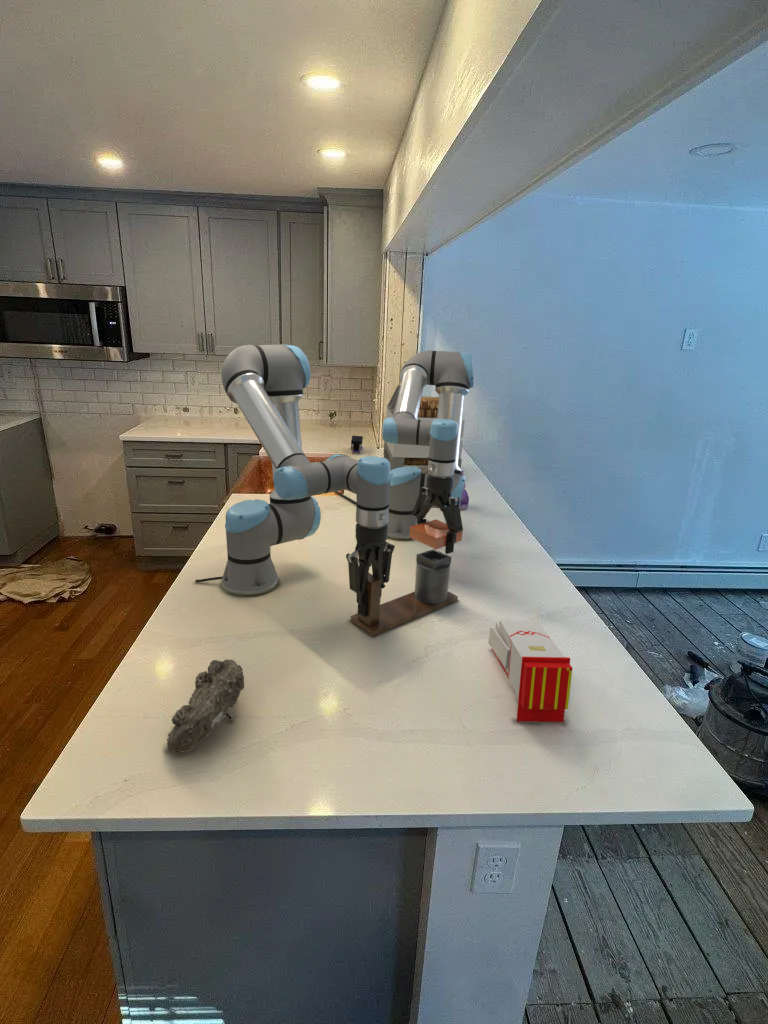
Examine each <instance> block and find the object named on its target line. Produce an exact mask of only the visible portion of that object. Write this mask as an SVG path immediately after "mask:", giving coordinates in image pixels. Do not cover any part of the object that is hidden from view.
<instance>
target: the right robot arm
mask: <svg viewBox="0 0 768 1024" xmlns="http://www.w3.org/2000/svg"><path fill="white" fill-rule="evenodd" d="M474 376H475V371H474V358H473V355H472V354H471V353H469V352H462V351H446V350H430V349H429V350H423V351H420V352H418V353H416V354H414V355H413V356H412V357H410V358H409V359H408V360H406V361H405V363H404V364H403V365H402V367H401V369H400V373H399V382H400V384H399V385H400V389H399V393H398V397H397V401H396V405H395V409H394V413H393V417H391V418H386V417H385V418H384V420H383V422H382V432H381V433H382V435H381V436H382V440H383V443H384V442H387V443H394V444H408V445H421V446H429V460H428V466H427V472H426V473H425V472H422V469H421V468H420V467H419V466H418V467H417V466H404V467H400V468H396V469H393V470H391V471H390V475H391V480H390V494H389V513H388V523H387V525H388V536H387V539H389V540H395V541H410V540H413V539H412V538H410V537H409V534H410V526H414V525H417V524H421V523H425V522H428V521H427V517H426V516H427V515H428V514H429V512H430V511H431V509H439V510H440V511H441V513H442V515H443V518H444V522H445V523H446V524H447V526H448V529H449V532H447V538H446V546H445V548H444V549H445V551H444V554H446V555H448V554H452V553H454V551H455V550H454V549H455V544H456V543H455V542H456V536H457V533H458V532H462V531H464V527H463V526H464V525H463V521H462V515H461V510H460V508H459V505H460V500H461V496H462V491H463V487H464V482H465V483H466V477H465V475H464V476H461V475H462V468H461V469H460V468H459V467H458V458H459V447H460V439H461V438H460V436H461V424H462V419H463V414H464V413H463V411H464V402H465V401H464V400H465V397H466V396H467V395H468V394H469V392H470V389H472V388H473V387H474V386H475V385H474V384H475V378H474ZM426 386H435V388H434V390H435V392H436V393H437V395H438V397H439V401H438V413H437V420H434V421H430V420H417V418H418V413H419V407H420V402H421V397H423V391H424V388H425V387H426ZM334 493H335V494H337V495H339V496H340V497H342V498H344V499H345V500H347V501H349V502H350V503H352V504H354V505H356V502H357V501H355V500H354V499H352V498H350V497H348V496H347V495H345V494H343V493H341V492H340V491H336V492H334Z"/></svg>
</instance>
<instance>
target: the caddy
mask: <svg viewBox="0 0 768 1024" xmlns="http://www.w3.org/2000/svg"><path fill="white" fill-rule="evenodd" d="M415 561H416V565H415V578H414V591H413V592H410V593H408V594H405V595H402V596H400V597H397V598H394V599H392V600H389V601H386V602H383V603H381V598H380V595H381V579H379V578H377V577H376V576H374V575H373V573H371V572H369V573H368V579H367V585H366V591H367V592H368V610H367V617H364V616H362V615H361V614H359V613H358V612H356V613H355V614H352V615H350V622H351V623H353V624H354V625H356V626H357V627H359V628H360V629H361V630H363V631H365V632H366V633H368V635H370V636H371V637H376V636H378V635H381V634H383V633H385V632H388V631H390V630H392V629H394V628H397V627H400V626H402V625H404V624H406V623H409V622H411V621H414V620H416V619H418V618H420V617H423V616H425V615H428V614H431V613H432V612H435V611H437V610H439V609H442V608H444V607H447V606H449V605H451V604H454V603H456V602H458V600H459V599H458V598H459V597H458V596H459V595H457V594H455V593H452V592H451V591H449V584H450V583H449V582H450V573H451V572H450V571H451V564H452V556H450V555H448V554H446V553H445V552H441V551H439V550H438V549H434V548H432V549H429V550H425V551H423V552H420V553H418V554H417V553H416V557H415ZM381 596H382V595H381Z"/></svg>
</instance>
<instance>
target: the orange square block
mask: <svg viewBox="0 0 768 1024" xmlns="http://www.w3.org/2000/svg"><path fill="white" fill-rule="evenodd" d="M463 531H464V530H463ZM463 531H462V532H458V533H457V536H456V542H455V543H454V544H457V543H461V542H462V540H463V533H464V532H463ZM447 532H449V529H448V526H447V524H446V522H445V521H444V522H443V521H441V520H438V519H432V520H429V521H427V522H425V523H421V524H417V525H414V526H410V534H409V537H410V538H412V539H411V540H414V541H416V542H419V543H421V544H423V545H425V546H427V547H429V548H432V549H435V550H438V549H442V548H444V547H445V548H446V538H447Z"/></svg>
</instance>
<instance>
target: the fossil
mask: <svg viewBox="0 0 768 1024" xmlns="http://www.w3.org/2000/svg"><path fill="white" fill-rule="evenodd" d="M243 670H244V669H243V667H242V665H240V664H237V662H236V661H235V660H234V659H232V658H231V659H227V658H226V659H224V660H223V661H222V660H217V659H212V660H211V661H210V663H209V665H208V666H207V671H201V672H199V673H198V674H197V675H196V676H195V680H194V684H195V685H194V687H195V689H194V690H193V693H192V694H191V697H190V698H189V700H188V704H184V705H182V706H181V707H180V709H177V710H176V711H175V713H174V715H173V716H172V718H171V723H172V724H173V727H172V730H171V731H170V732H168V734H167V738H166V741H167V742H166V745H167V749H168V750H169V751H173V752H174V753H176V754H178V753H182V752H188V751H189V752H192V751H193V750H195V748H196V747H197V746H199V744H200V743H201V742H203V741H204V740H205V739H206V738H207V737H208V736H209V735H210V734H211V733H212V732H214V730H215V729H217V727H218V726H219V724H220V722H221V721H222V720H223V719H224V718H225V716H226V717H227V719H229V720H233V717H232V715H230V714H229V710H230V709H231V708H234V706H235V704H236V703H237V702H238V699H239V697H240V695H241V693H242V691H243V690H245V689H244V688H245V675H244V671H243Z"/></svg>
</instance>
